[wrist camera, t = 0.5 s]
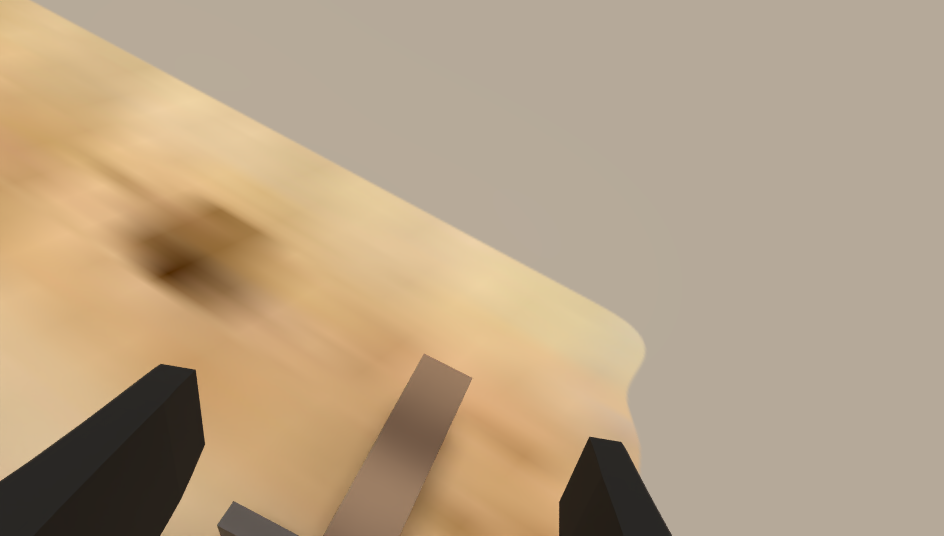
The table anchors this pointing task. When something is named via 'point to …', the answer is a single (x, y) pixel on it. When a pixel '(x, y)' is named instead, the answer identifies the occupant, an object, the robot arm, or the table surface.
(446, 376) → the brown wooden bar
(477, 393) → the table surface
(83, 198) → the table surface
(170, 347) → the table surface
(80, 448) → the robot arm
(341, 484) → the table surface
